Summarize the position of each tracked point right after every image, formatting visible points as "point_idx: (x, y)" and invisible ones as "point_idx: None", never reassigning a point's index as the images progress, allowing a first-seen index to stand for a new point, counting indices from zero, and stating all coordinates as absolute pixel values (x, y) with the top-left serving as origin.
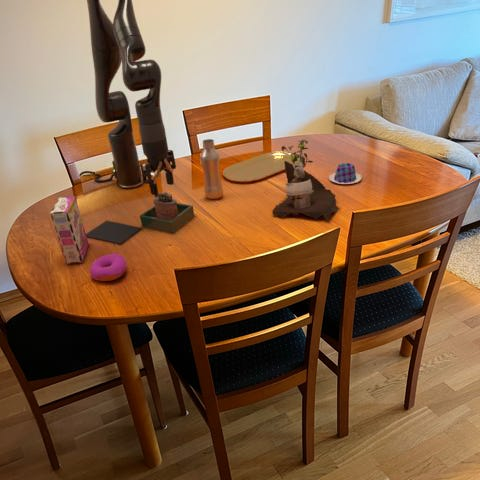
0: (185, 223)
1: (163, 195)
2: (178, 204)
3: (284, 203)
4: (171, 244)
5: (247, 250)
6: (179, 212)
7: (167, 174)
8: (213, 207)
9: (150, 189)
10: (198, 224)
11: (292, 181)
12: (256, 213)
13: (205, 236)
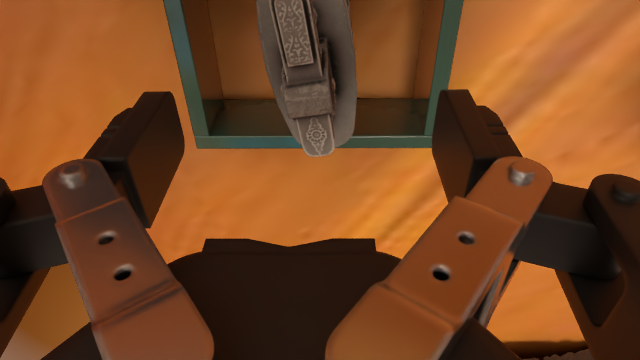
0: None
1: (287, 100)
2: (436, 50)
3: (578, 358)
4: None
5: None
6: (425, 24)
7: (462, 177)
8: (553, 146)
9: (103, 138)
10: (347, 168)
11: None
12: (504, 304)
13: (262, 237)
